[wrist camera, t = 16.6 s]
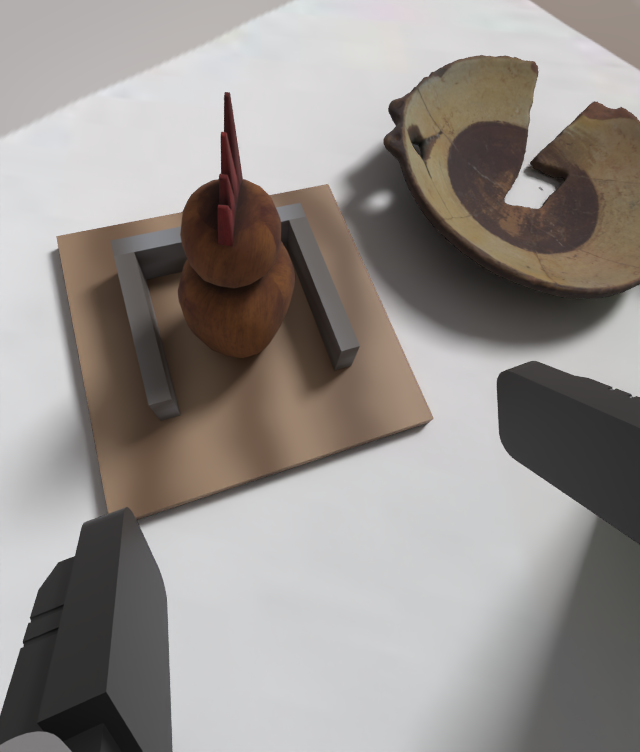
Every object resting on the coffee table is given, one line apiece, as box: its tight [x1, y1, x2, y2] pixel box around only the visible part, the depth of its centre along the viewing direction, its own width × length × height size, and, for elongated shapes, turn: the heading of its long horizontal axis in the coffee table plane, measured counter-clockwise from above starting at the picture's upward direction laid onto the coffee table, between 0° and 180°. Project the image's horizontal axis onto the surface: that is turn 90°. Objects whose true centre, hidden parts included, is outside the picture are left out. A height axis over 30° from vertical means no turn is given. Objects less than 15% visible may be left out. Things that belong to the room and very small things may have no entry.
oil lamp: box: [384, 55, 640, 299], centre depth 35 cm, size 22×30×8 cm
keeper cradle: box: [56, 184, 433, 520], centre depth 29 cm, size 20×20×4 cm
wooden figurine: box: [178, 92, 295, 358], centre depth 23 cm, size 7×6×15 cm
